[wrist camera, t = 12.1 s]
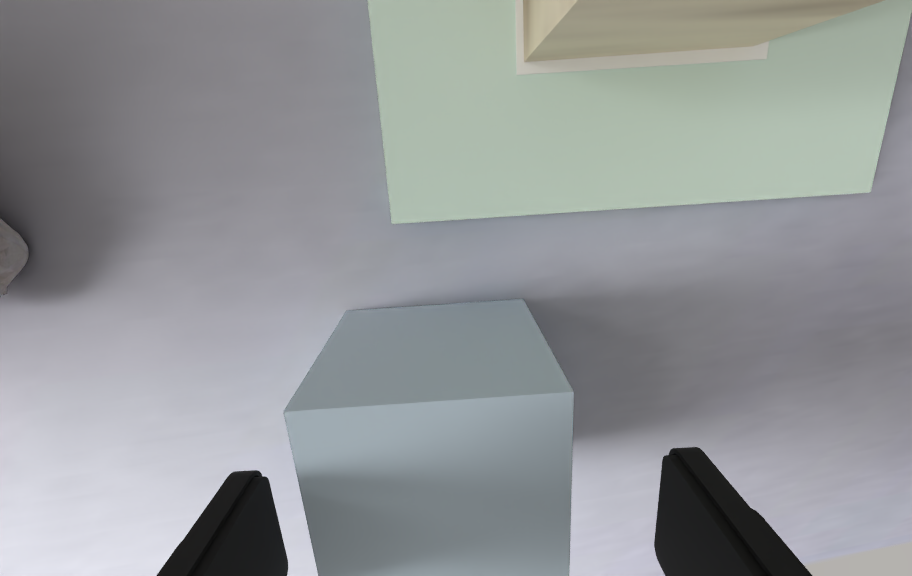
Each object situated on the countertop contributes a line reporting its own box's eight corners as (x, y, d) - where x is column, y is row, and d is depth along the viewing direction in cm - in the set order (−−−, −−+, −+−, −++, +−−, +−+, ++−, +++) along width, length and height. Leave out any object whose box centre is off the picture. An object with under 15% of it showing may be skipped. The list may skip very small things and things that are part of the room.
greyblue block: (369, 456, 16) (327, 620, 11) (347, 309, 14) (283, 411, 9) (524, 445, 16) (568, 602, 11) (522, 297, 14) (574, 392, 9)
